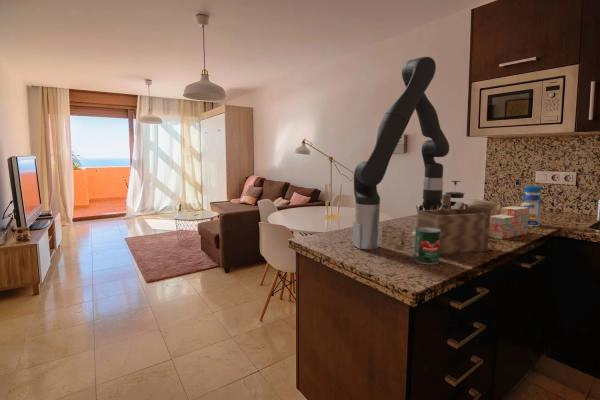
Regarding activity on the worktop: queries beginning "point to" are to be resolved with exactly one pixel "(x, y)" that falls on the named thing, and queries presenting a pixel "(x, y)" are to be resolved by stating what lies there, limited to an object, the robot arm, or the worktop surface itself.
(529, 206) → the beverage bottle
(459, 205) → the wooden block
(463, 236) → the storage box
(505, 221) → the stack of blocks
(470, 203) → the key bar
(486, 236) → the post
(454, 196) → the french press
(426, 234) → the canned tomato
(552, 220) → the worktop surface
